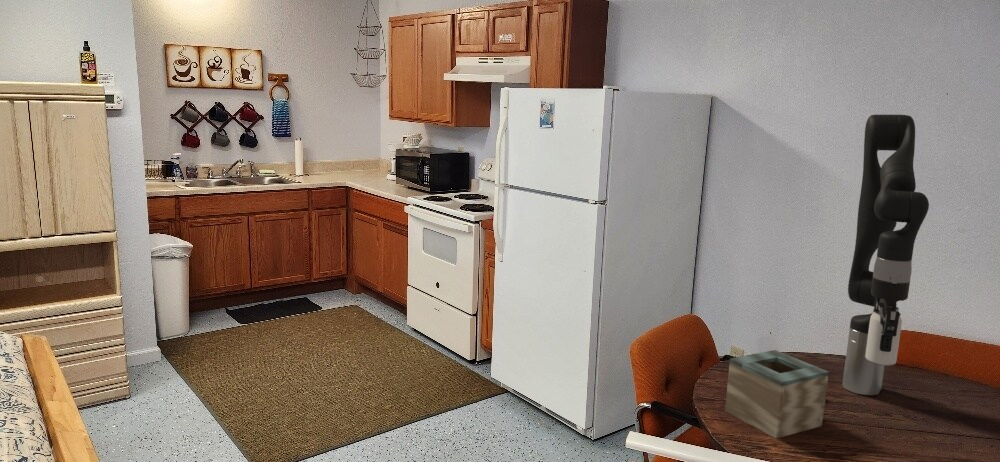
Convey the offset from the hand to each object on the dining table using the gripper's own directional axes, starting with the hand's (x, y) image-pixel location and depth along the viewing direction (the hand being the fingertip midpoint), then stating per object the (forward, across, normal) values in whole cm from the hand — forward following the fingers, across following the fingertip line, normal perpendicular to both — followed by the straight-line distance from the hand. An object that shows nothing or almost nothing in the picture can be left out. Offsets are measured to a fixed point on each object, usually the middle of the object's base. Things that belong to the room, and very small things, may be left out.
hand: (882, 345), depth 161 cm
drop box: (+22, +2, -22) cm, 31 cm away
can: (+4, 0, 0) cm, 4 cm away
